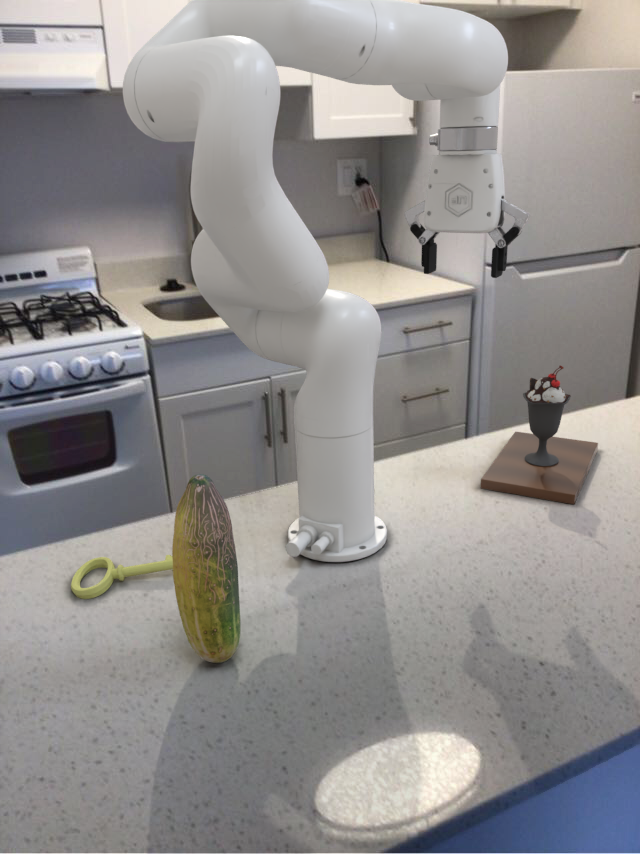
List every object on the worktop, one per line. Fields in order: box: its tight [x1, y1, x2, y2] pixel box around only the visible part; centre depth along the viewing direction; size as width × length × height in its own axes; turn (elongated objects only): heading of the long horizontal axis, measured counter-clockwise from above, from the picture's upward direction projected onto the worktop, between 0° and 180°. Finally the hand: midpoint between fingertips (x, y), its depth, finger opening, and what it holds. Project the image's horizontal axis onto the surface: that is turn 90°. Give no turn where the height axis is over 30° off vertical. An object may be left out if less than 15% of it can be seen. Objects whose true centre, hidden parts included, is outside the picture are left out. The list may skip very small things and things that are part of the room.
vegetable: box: [171, 473, 241, 664], centre depth 72 cm, size 6×6×20 cm
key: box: [70, 554, 173, 600], centre depth 90 cm, size 7×12×2 cm, turn 114°
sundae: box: [522, 365, 572, 466], centre depth 110 cm, size 7×7×15 cm
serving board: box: [480, 431, 599, 505], centre depth 113 cm, size 20×13×2 cm, turn 153°
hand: (462, 274), depth 105 cm, fingers open, 9 cm apart
